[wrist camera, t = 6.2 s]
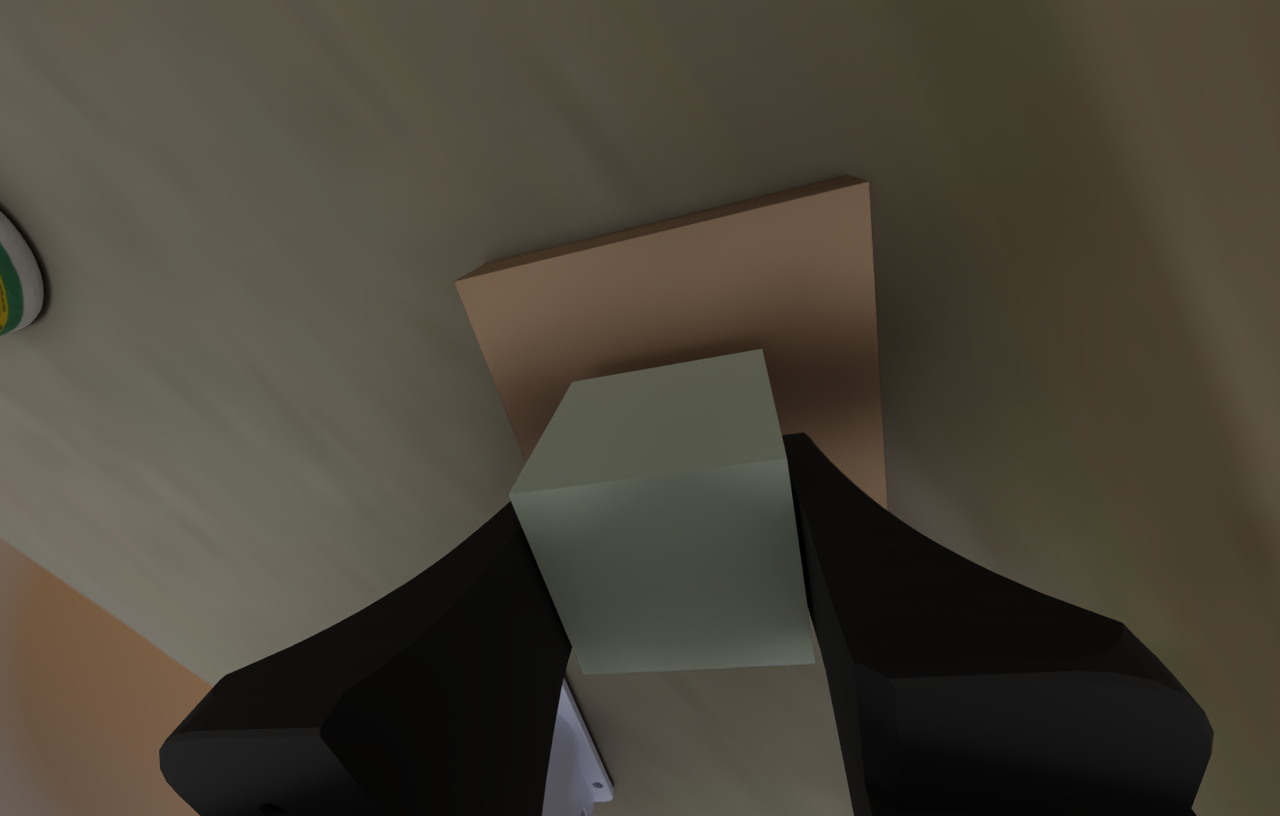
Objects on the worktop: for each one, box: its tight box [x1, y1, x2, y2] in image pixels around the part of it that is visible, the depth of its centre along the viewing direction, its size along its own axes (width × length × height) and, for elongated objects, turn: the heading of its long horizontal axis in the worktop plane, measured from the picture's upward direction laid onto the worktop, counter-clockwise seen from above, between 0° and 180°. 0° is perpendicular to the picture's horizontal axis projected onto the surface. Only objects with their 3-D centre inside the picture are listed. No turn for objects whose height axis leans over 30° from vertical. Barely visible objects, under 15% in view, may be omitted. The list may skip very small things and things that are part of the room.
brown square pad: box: [454, 175, 887, 510], centre depth 16 cm, size 10×10×2 cm
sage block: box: [508, 349, 815, 675], centre depth 11 cm, size 4×4×4 cm
